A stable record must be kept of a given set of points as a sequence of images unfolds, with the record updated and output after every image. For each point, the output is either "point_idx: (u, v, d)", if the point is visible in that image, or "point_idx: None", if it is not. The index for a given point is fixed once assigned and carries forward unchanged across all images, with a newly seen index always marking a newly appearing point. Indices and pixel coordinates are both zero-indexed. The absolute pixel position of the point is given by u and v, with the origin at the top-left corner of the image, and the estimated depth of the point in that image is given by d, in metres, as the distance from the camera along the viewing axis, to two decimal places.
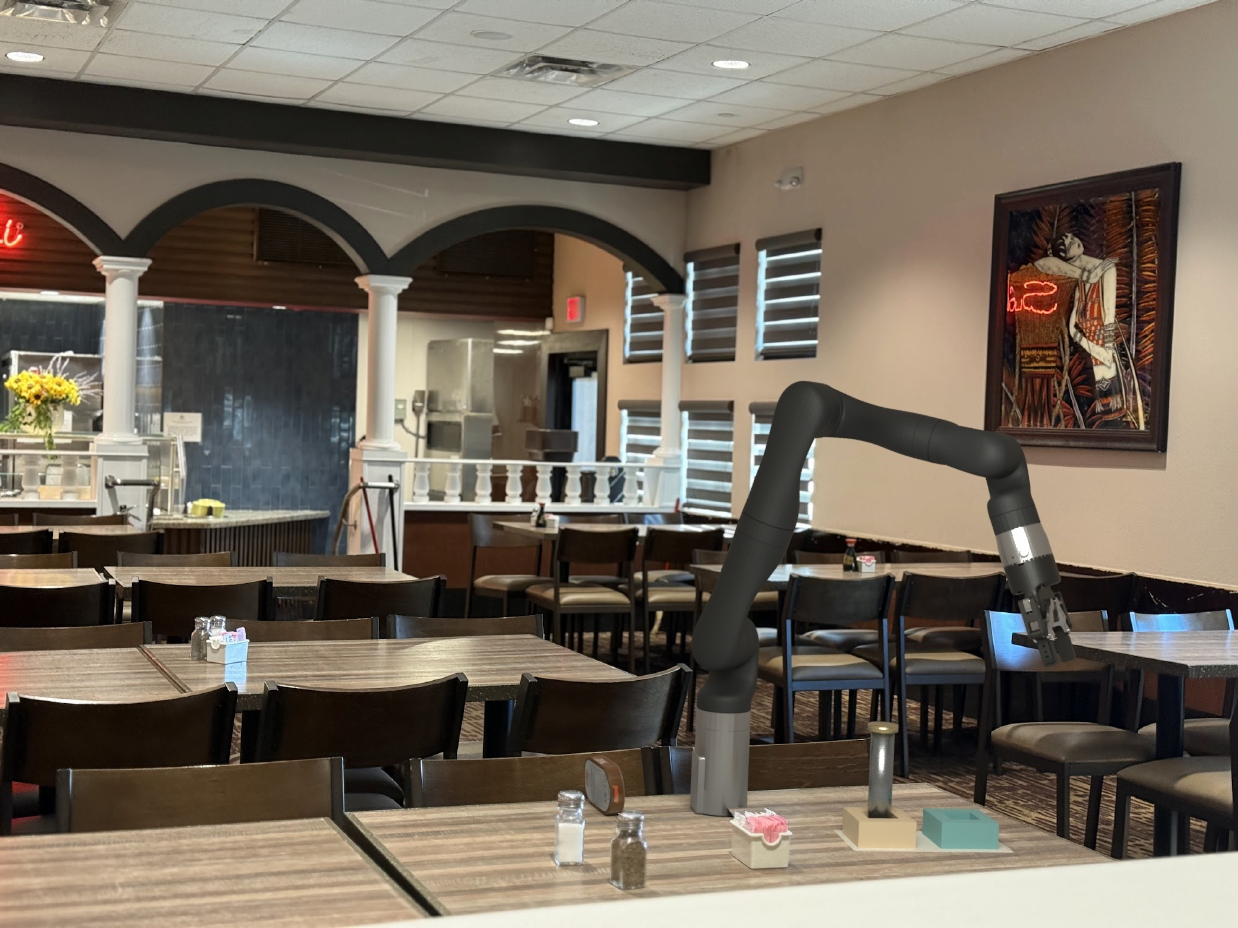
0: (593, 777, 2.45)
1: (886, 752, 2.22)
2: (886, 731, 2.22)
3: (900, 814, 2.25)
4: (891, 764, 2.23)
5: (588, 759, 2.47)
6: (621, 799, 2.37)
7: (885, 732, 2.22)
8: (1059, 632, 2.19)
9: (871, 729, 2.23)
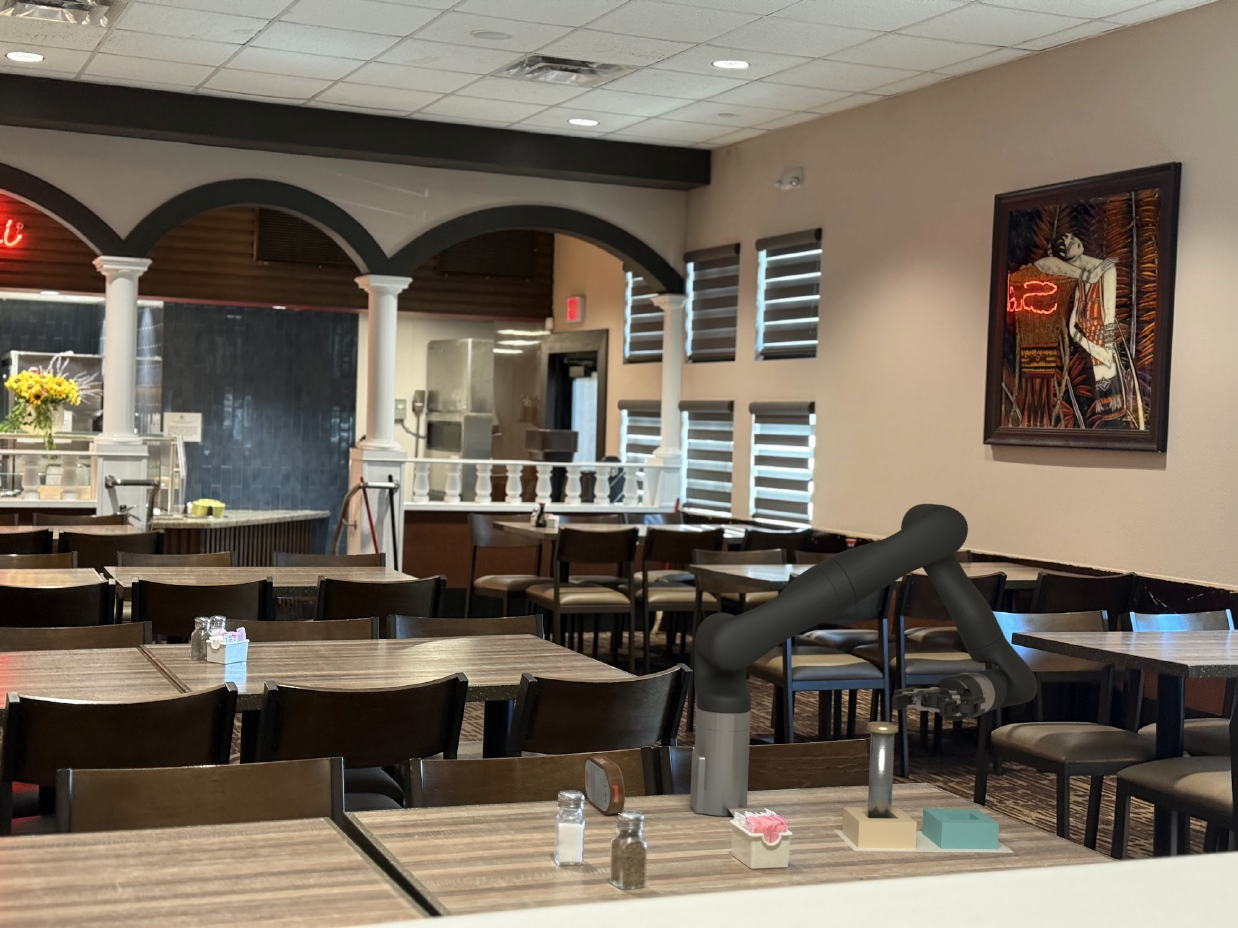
0: (593, 777, 2.45)
1: (886, 752, 2.22)
2: (886, 731, 2.22)
3: (900, 814, 2.25)
4: (891, 764, 2.23)
5: (588, 759, 2.47)
6: (621, 799, 2.37)
7: (885, 732, 2.22)
8: (908, 699, 2.39)
9: (871, 729, 2.23)
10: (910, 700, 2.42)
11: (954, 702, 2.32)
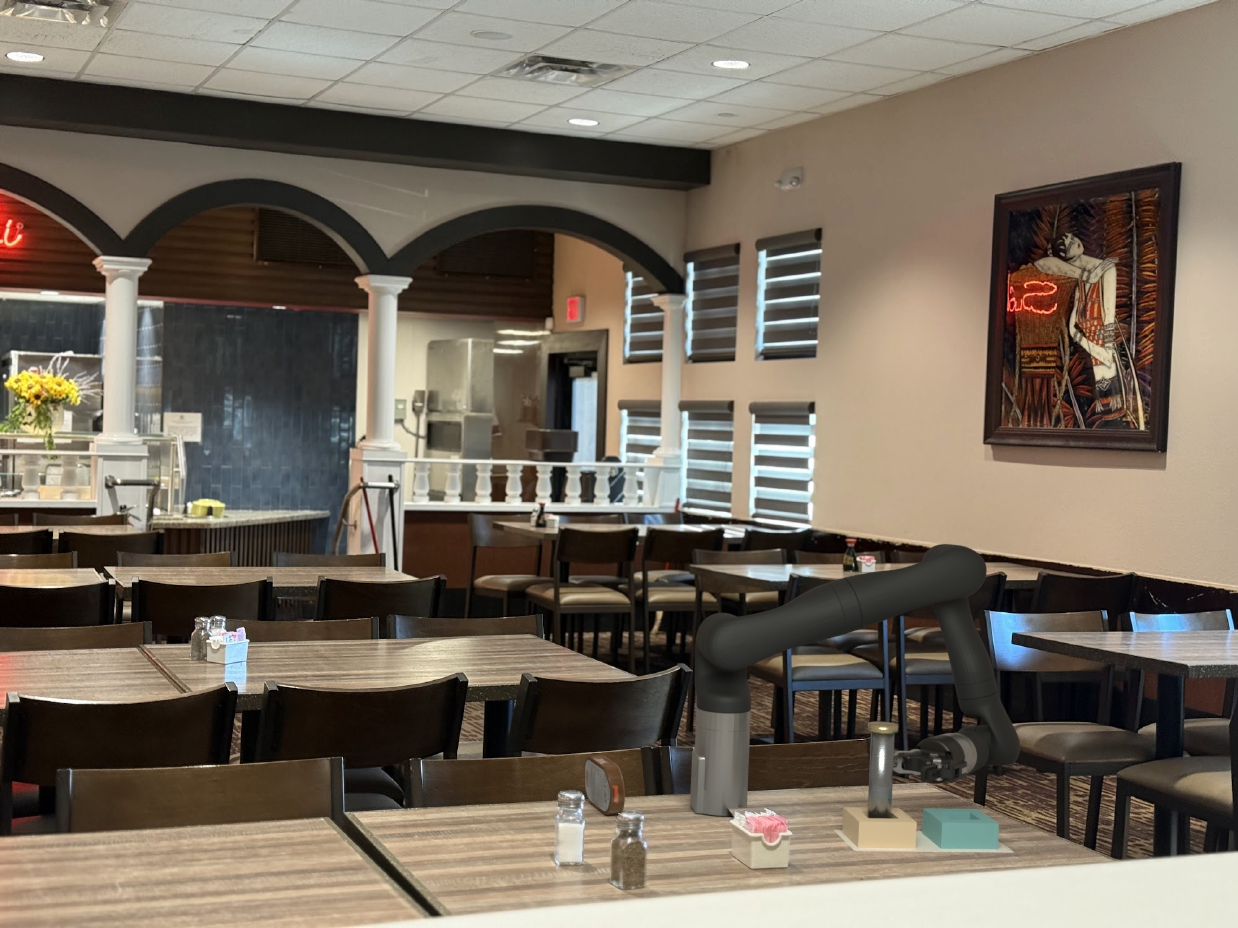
0: (593, 777, 2.45)
1: (886, 752, 2.22)
2: (886, 731, 2.22)
3: (900, 814, 2.25)
4: (891, 764, 2.23)
5: (588, 759, 2.47)
6: (621, 799, 2.37)
7: (885, 732, 2.22)
8: None
9: (871, 729, 2.23)
10: None
11: (935, 767, 2.28)
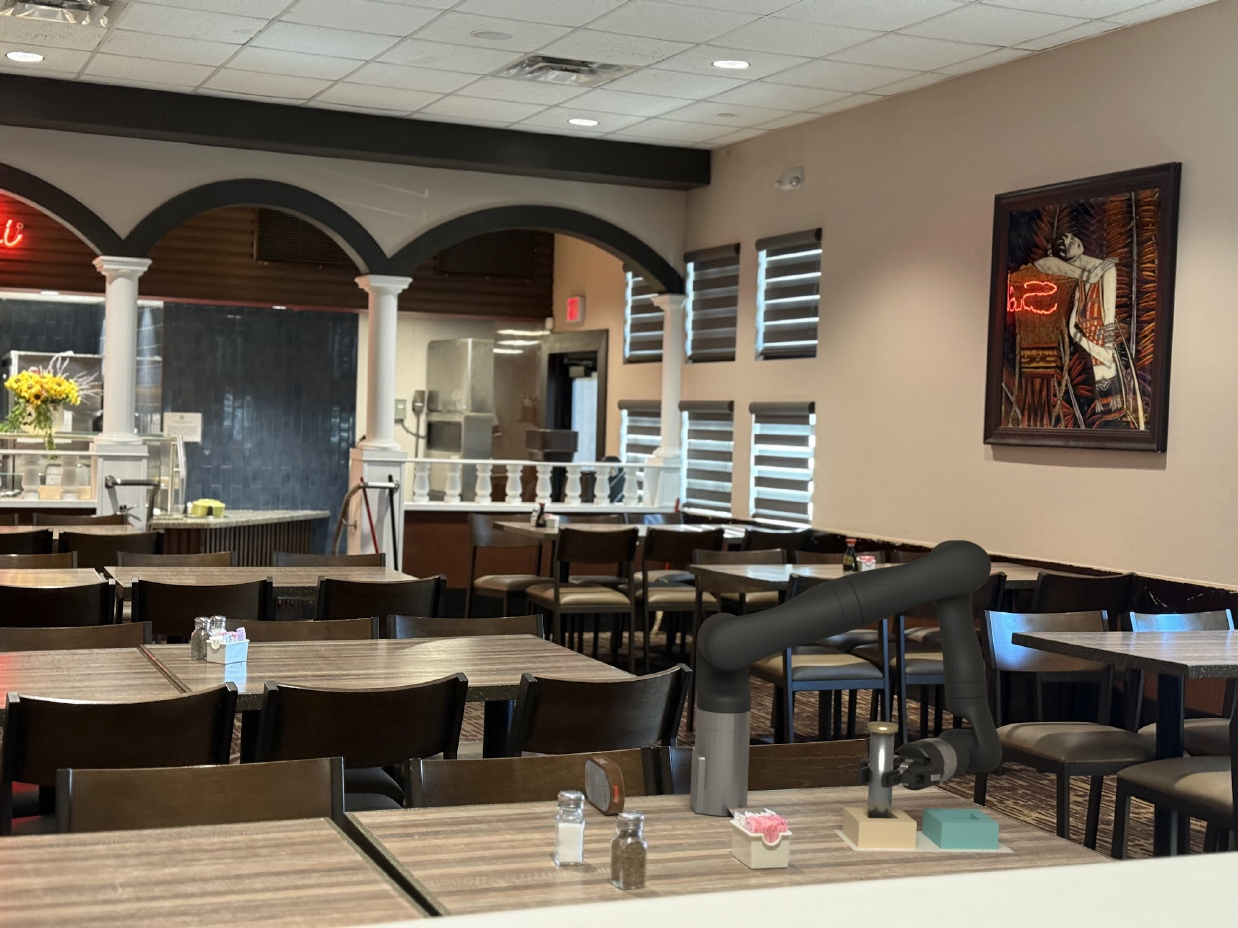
0: (593, 777, 2.45)
1: (886, 752, 2.22)
2: (886, 731, 2.22)
3: (900, 814, 2.25)
4: (891, 764, 2.23)
5: (588, 759, 2.47)
6: (621, 799, 2.37)
7: (885, 732, 2.22)
8: None
9: (871, 729, 2.23)
10: None
11: (896, 772, 2.23)
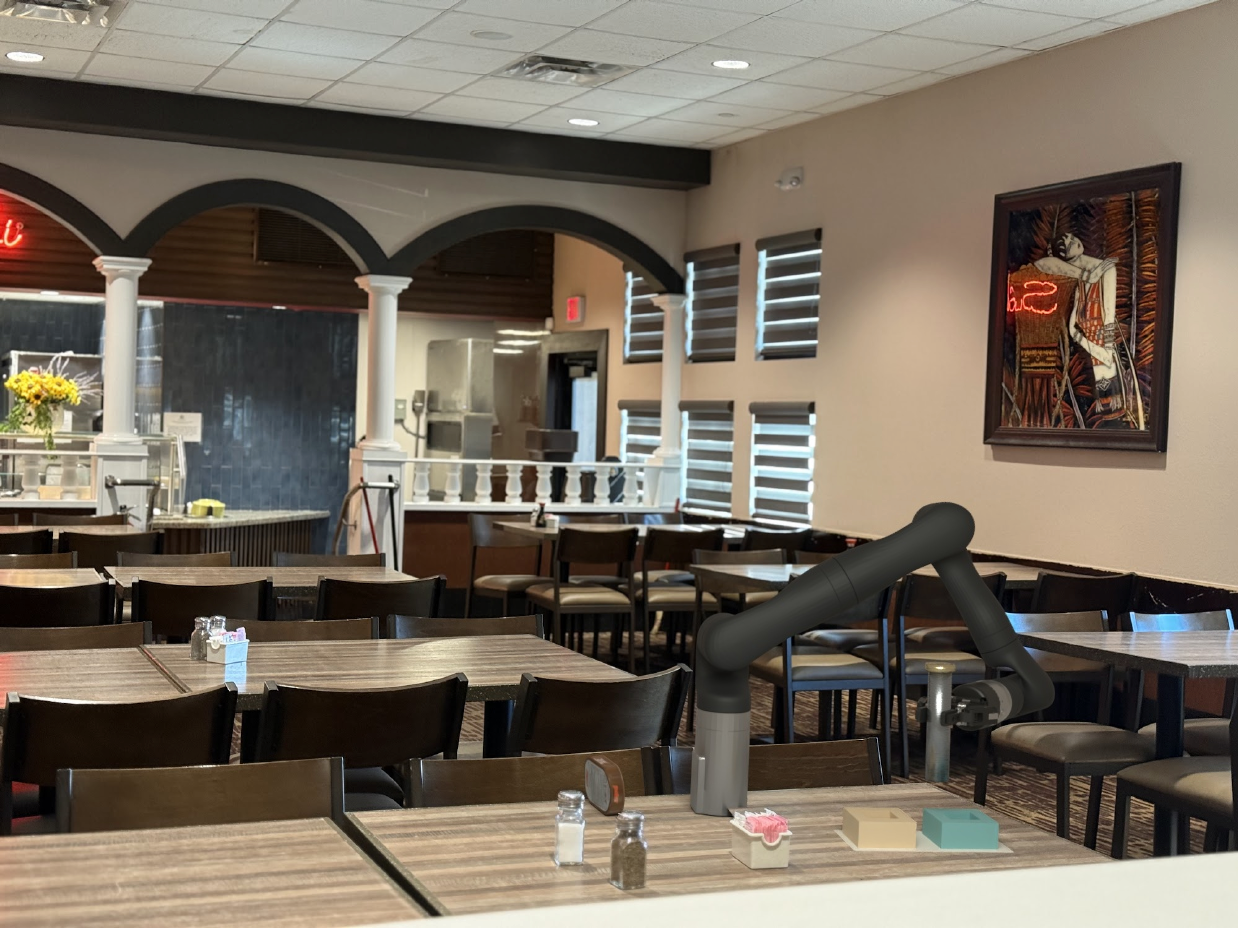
0: (593, 777, 2.45)
1: (944, 691, 2.23)
2: (944, 670, 2.23)
3: (900, 814, 2.25)
4: (949, 703, 2.24)
5: (588, 759, 2.47)
6: (621, 799, 2.37)
7: (943, 671, 2.23)
8: None
9: (929, 669, 2.24)
10: None
11: (955, 711, 2.24)
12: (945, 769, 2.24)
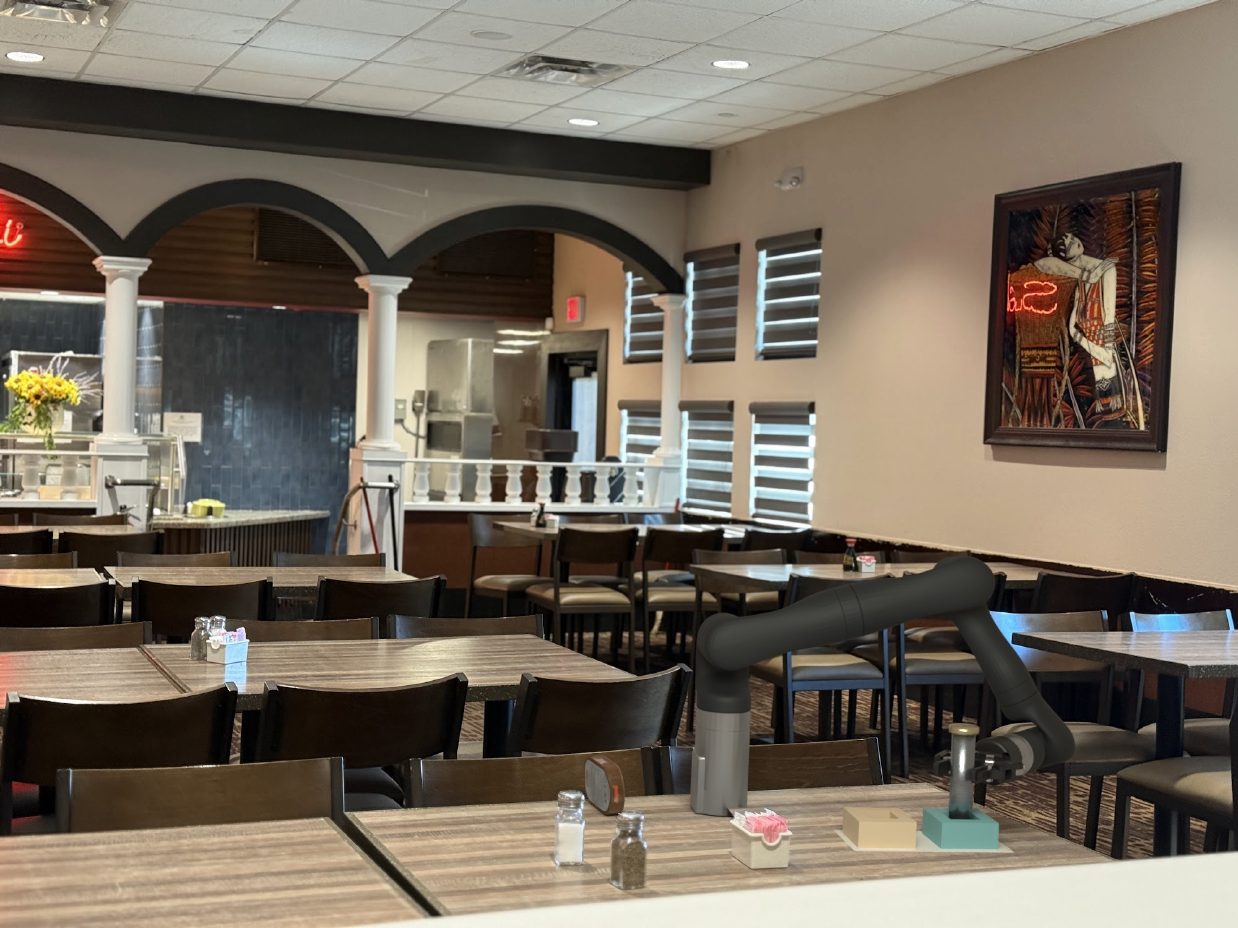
0: (593, 777, 2.45)
1: (968, 754, 2.24)
2: (968, 733, 2.23)
3: (900, 814, 2.25)
4: (972, 766, 2.24)
5: (588, 759, 2.47)
6: (621, 799, 2.37)
7: (967, 734, 2.23)
8: (950, 765, 2.29)
9: (952, 731, 2.24)
10: None
11: (985, 767, 2.24)
12: None
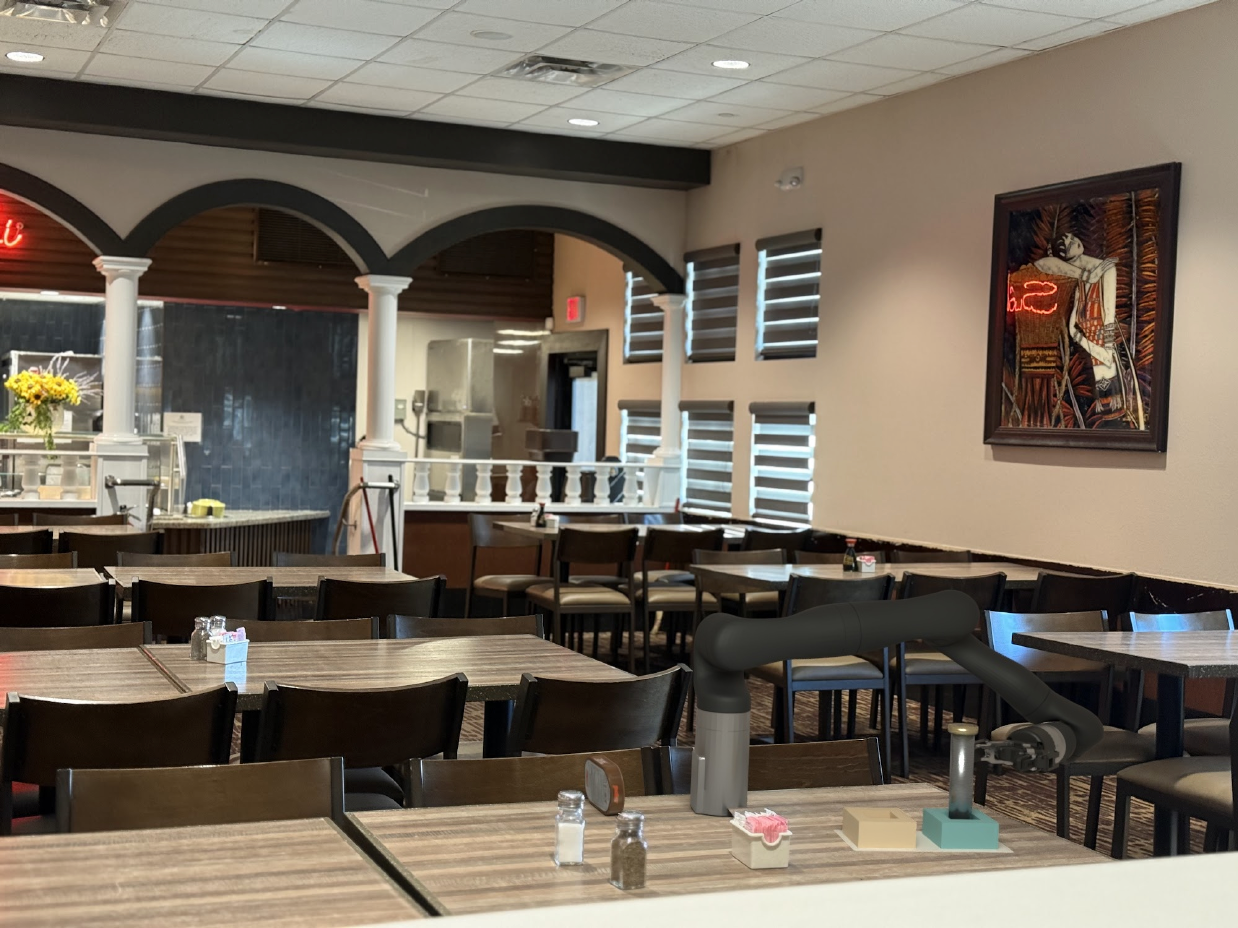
0: (593, 777, 2.45)
1: (967, 754, 2.24)
2: (967, 732, 2.23)
3: (900, 814, 2.25)
4: (972, 765, 2.24)
5: (588, 759, 2.47)
6: (621, 799, 2.37)
7: (966, 733, 2.23)
8: (982, 752, 2.40)
9: (952, 730, 2.24)
10: (982, 752, 2.44)
11: (1029, 757, 2.34)
12: None
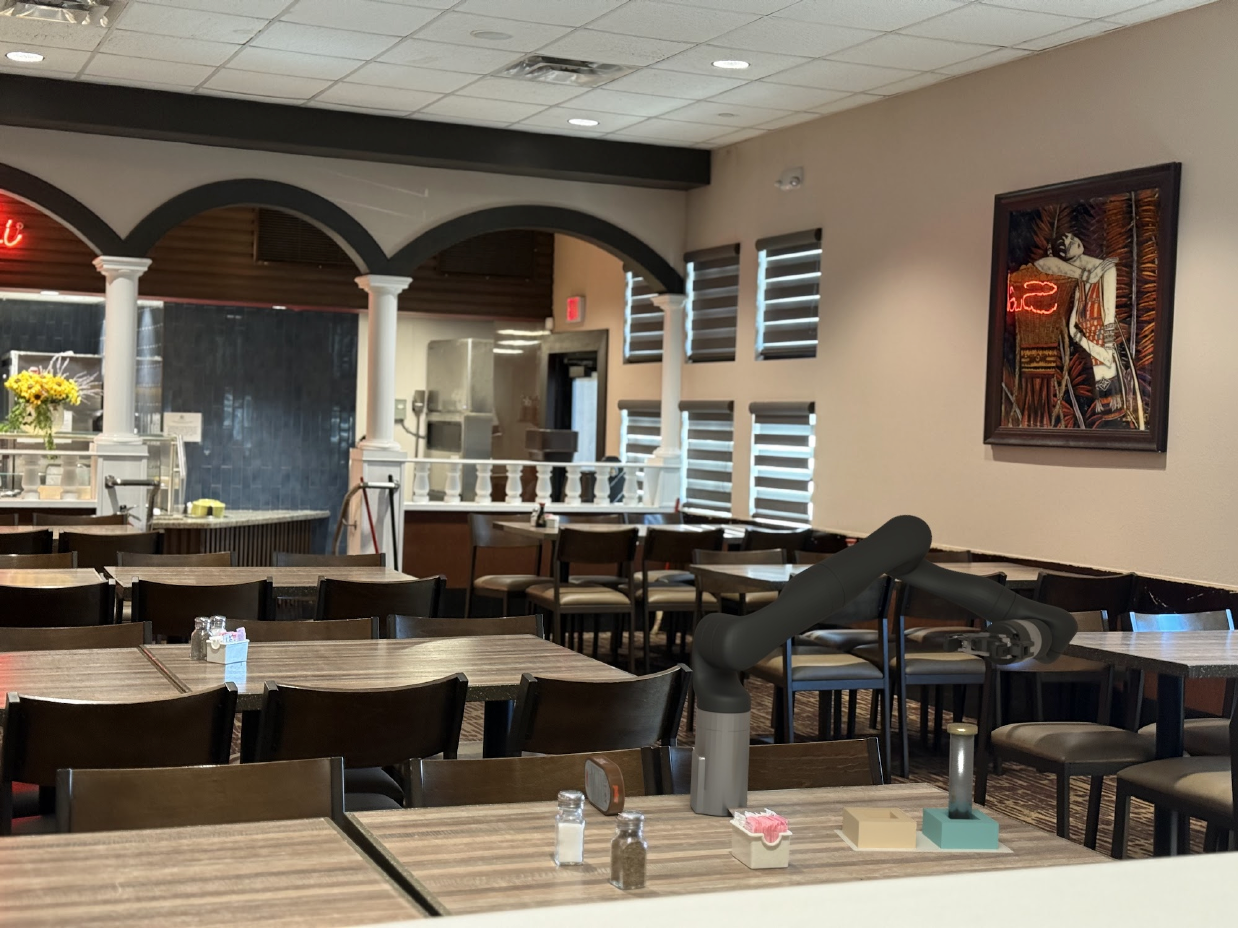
0: (593, 777, 2.45)
1: (967, 754, 2.24)
2: (966, 732, 2.23)
3: (900, 814, 2.25)
4: (971, 765, 2.24)
5: (588, 759, 2.47)
6: (621, 799, 2.37)
7: (965, 733, 2.23)
8: (959, 643, 2.45)
9: (951, 731, 2.24)
10: (960, 645, 2.49)
11: (1005, 644, 2.38)
12: None
